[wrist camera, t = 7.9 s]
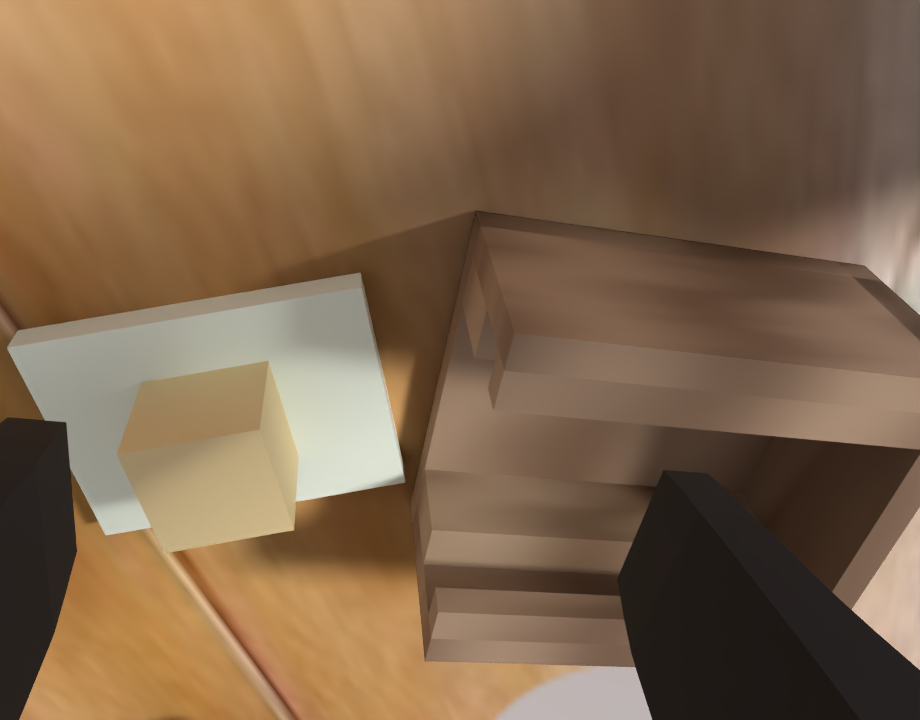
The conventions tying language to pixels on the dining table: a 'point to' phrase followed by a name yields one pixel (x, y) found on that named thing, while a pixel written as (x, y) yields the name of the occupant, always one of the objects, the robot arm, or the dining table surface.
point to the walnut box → (648, 425)
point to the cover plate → (216, 337)
